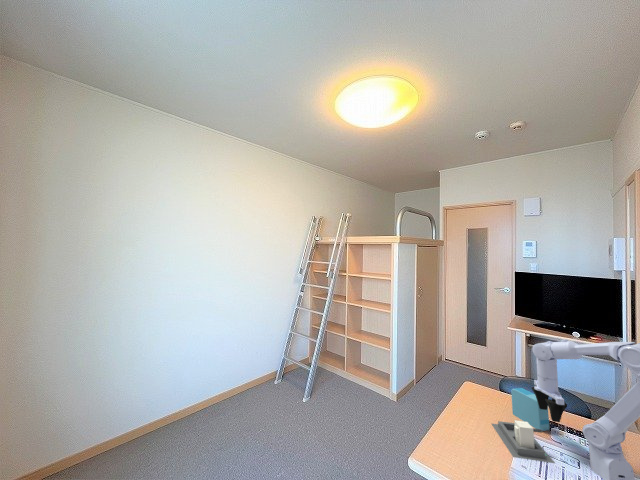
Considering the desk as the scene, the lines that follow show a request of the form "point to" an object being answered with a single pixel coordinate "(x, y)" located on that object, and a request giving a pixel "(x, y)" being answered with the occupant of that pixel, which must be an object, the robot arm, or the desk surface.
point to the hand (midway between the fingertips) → (549, 414)
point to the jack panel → (508, 438)
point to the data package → (529, 409)
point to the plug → (525, 434)
